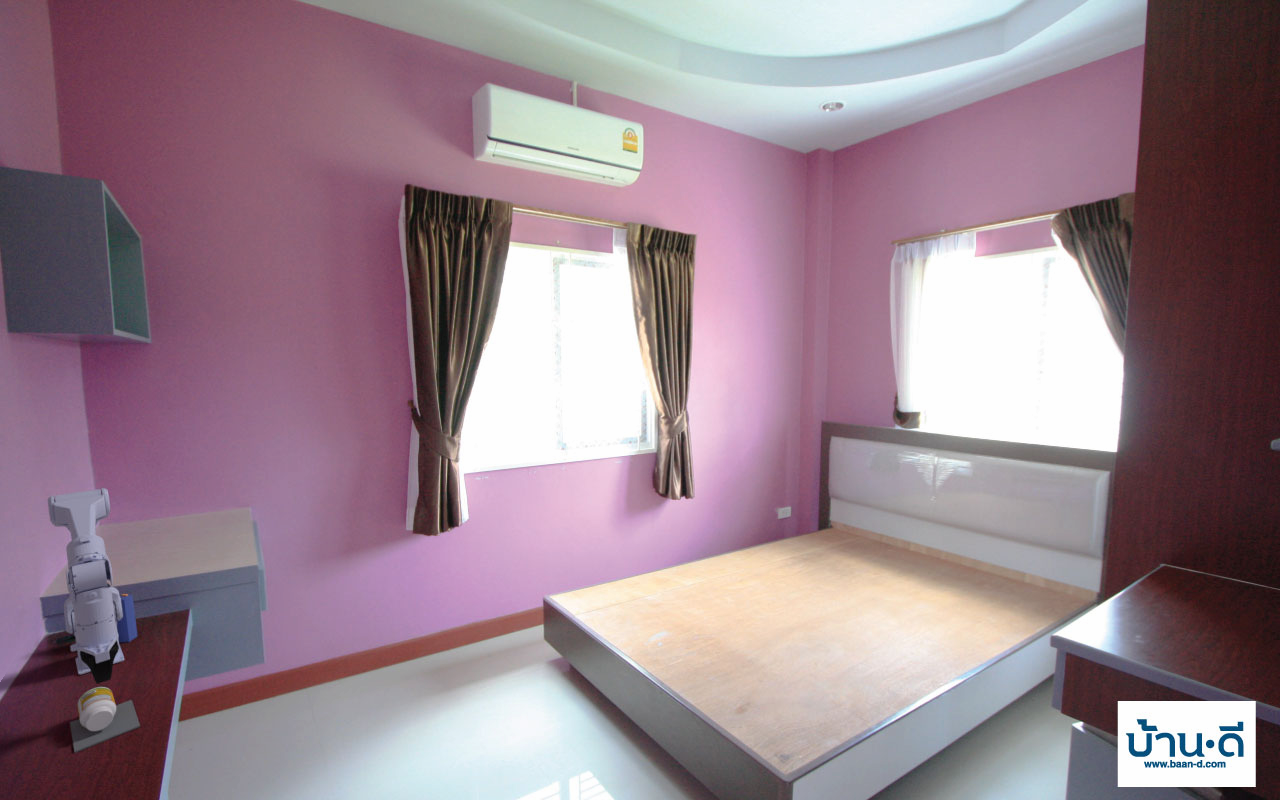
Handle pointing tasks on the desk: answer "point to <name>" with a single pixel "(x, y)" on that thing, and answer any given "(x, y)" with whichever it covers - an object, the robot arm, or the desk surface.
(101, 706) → the supplement bottle
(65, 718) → the desk surface
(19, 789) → the desk surface
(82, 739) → the mat
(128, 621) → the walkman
